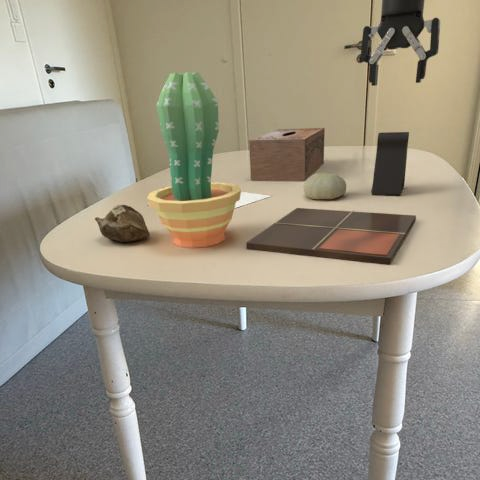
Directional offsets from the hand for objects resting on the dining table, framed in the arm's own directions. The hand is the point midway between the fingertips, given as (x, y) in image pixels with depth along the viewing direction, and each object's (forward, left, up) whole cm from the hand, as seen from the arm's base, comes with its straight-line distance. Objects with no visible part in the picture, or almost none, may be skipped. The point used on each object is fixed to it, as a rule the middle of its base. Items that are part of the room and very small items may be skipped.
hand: (395, 84), depth 89 cm
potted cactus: (+22, +43, -21) cm, 53 cm away
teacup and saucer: (+35, +18, -21) cm, 45 cm away
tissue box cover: (+30, -18, -21) cm, 41 cm away
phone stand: (-1, +1, -21) cm, 21 cm away
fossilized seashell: (+35, +47, -21) cm, 62 cm away
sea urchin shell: (+11, +9, -21) cm, 26 cm away
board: (+1, +34, -21) cm, 40 cm away
